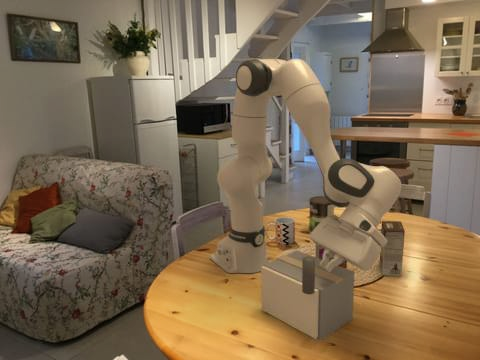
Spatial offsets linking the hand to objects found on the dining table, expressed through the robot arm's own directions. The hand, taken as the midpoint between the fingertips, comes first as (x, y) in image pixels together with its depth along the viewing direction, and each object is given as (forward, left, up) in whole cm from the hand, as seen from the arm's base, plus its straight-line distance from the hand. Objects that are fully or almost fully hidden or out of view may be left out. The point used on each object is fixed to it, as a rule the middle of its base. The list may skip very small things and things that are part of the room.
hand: (324, 268), depth 104 cm
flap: (-9, -5, -17) cm, 20 cm away
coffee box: (-7, +45, -19) cm, 50 cm away
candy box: (-13, +20, -19) cm, 30 cm away
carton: (-9, +4, -18) cm, 21 cm away
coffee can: (-46, +58, -19) cm, 76 cm away
